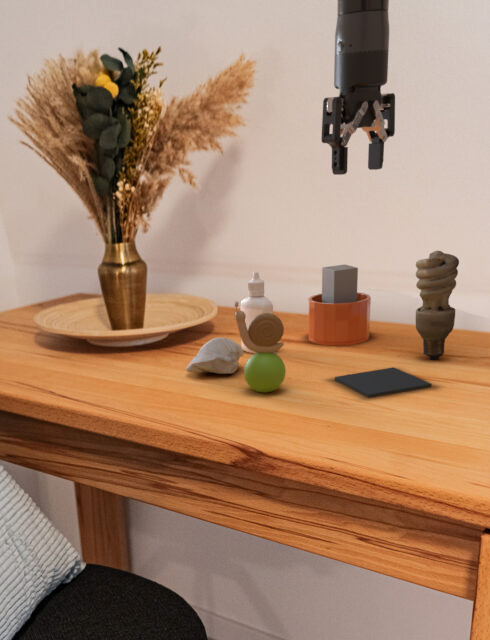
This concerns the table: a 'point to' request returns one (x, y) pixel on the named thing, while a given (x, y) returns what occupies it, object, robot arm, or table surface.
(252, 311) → the eye dropper bottle
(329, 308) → the cup
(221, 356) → the pebble
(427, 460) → the table surface
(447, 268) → the light bulb
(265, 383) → the snail figurine
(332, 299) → the block
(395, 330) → the table surface
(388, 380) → the mat
